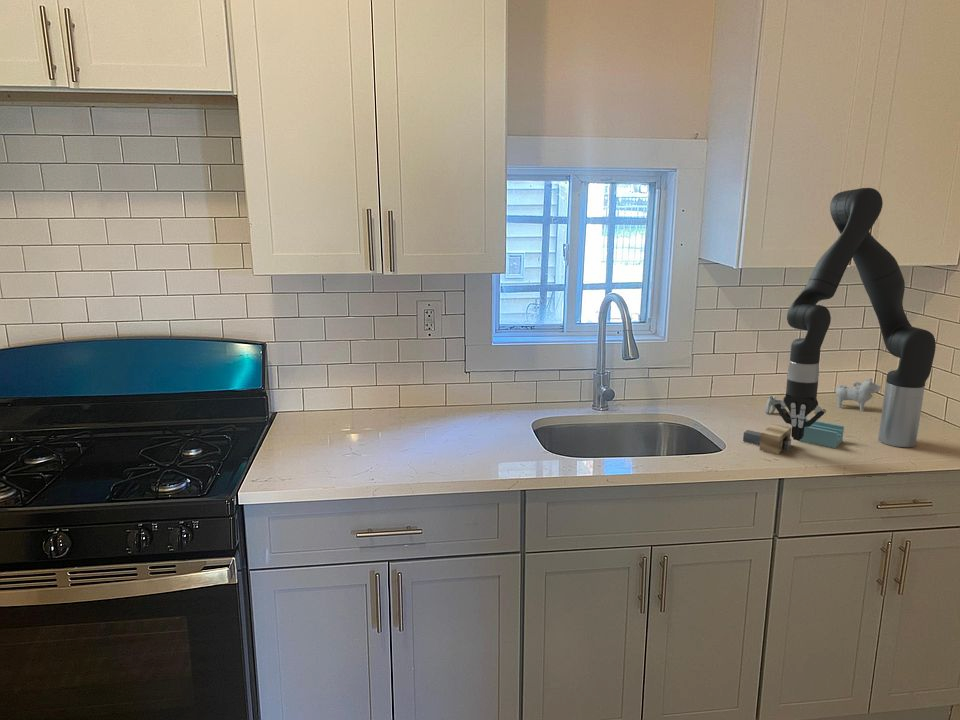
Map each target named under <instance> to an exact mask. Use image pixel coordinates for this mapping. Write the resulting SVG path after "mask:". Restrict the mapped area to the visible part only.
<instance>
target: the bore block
mask: <svg viewBox="0 0 960 720" xmlns="http://www.w3.org/2000/svg"><path fill="white" fill-rule="evenodd" d="M791 432H792V427H789V426H786V425H785V426H784V425H780V424H774V423H773V424H771V425H770V426H768V427H766V428H765V429H764V430H763V431H761V432H760V433H761V438H760V445H759V451H762V450H763V452H766V451H767V453H772V454H775V453H776V455H779V454H781V452H782V451H783V450H782V442H783V438H788V439H791V437H792V436H791Z"/></svg>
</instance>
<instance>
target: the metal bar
mask: <svg viewBox="0 0 960 720" xmlns="http://www.w3.org/2000/svg"><path fill="white" fill-rule="evenodd" d="M760 438H761V432H759V431H754V430H750V429H747V430H746V431H744V432H743V438H742V442H743V441H744V442H743V443H747V442H748V443H747V444H752V443H753V444H752V445H756V444H758V445H757V446H760ZM791 444H792V439H791V438H790V439H788V438H783V442H782V451H785V452H788V451H790V449H791Z"/></svg>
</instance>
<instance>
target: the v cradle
mask: <svg viewBox="0 0 960 720" xmlns="http://www.w3.org/2000/svg"><path fill="white" fill-rule="evenodd" d="M809 420H810V419H809V418H806V421H809ZM844 430H845V426H844V425H840V424H835V423H829V422H825V421H820V420H819V421H818V420H817V421H815V422H814V423H813V424H812V425H811V426H810V427H805V428H804V436H803V438H802V439H800V440H799V441H798V442H802V441H803V443H807V442H808V443H807V444H812V443H813V445H816V444H819V445H818V446H821V445H824V446H823V447H826V446H828V447H827V448H831V447H832V449H836V448H837V447H838V446H839V445H840V444H841V443H842V442H843V438H844ZM841 441H842V442H841ZM840 442H841V443H840ZM839 443H840V444H839ZM838 444H839V445H838ZM837 445H838V446H837ZM836 446H837V447H836Z"/></svg>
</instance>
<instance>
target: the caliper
mask: <svg viewBox="0 0 960 720" xmlns="http://www.w3.org/2000/svg"><path fill="white" fill-rule="evenodd" d="M776 397H777V396H775V395H769V398H767V401H766V403H765V411H764V412H765V414H768V415H769V414H771V413H773V414H774V413H775V411H776V410H777V409H776V408H775V404H777V403H778V402H781V401H783V399H777V398H776ZM785 406H786V405H785ZM786 408H787V406H786Z"/></svg>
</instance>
